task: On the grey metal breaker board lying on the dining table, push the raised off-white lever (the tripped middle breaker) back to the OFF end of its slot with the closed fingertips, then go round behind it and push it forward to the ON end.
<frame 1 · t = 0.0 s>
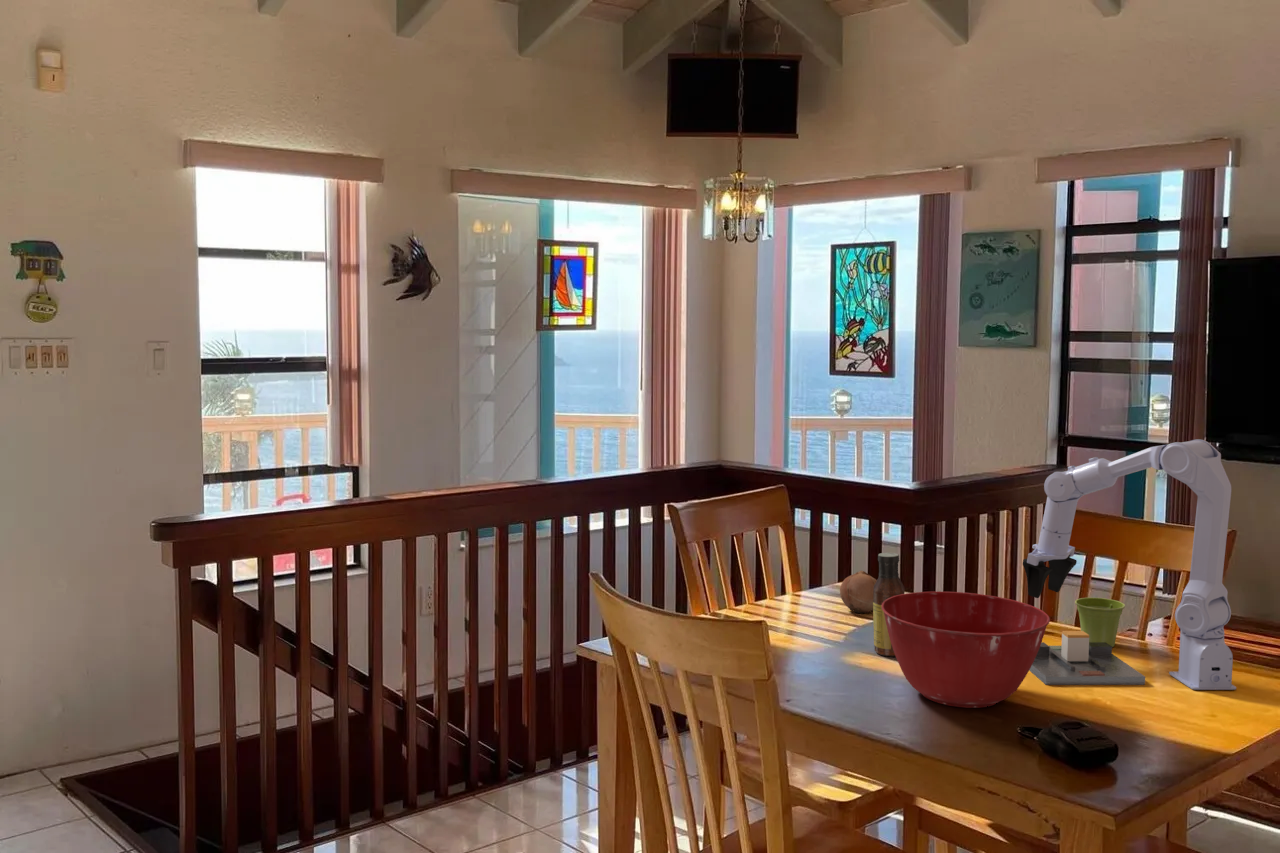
hand: (1043, 593, 236), 11 cm above the table, tool pointing down, fingers open, 7 cm apart
onion: (860, 612, 264), on the table
sauce bottle: (888, 654, 231), on the table
plant pot: (1098, 645, 237), on the table
mixing bowl: (961, 696, 205), on the table
lever: (1075, 646, 221), point 4 cm above the table, slide at 0.0 cm
panel: (1074, 668, 221), on the table
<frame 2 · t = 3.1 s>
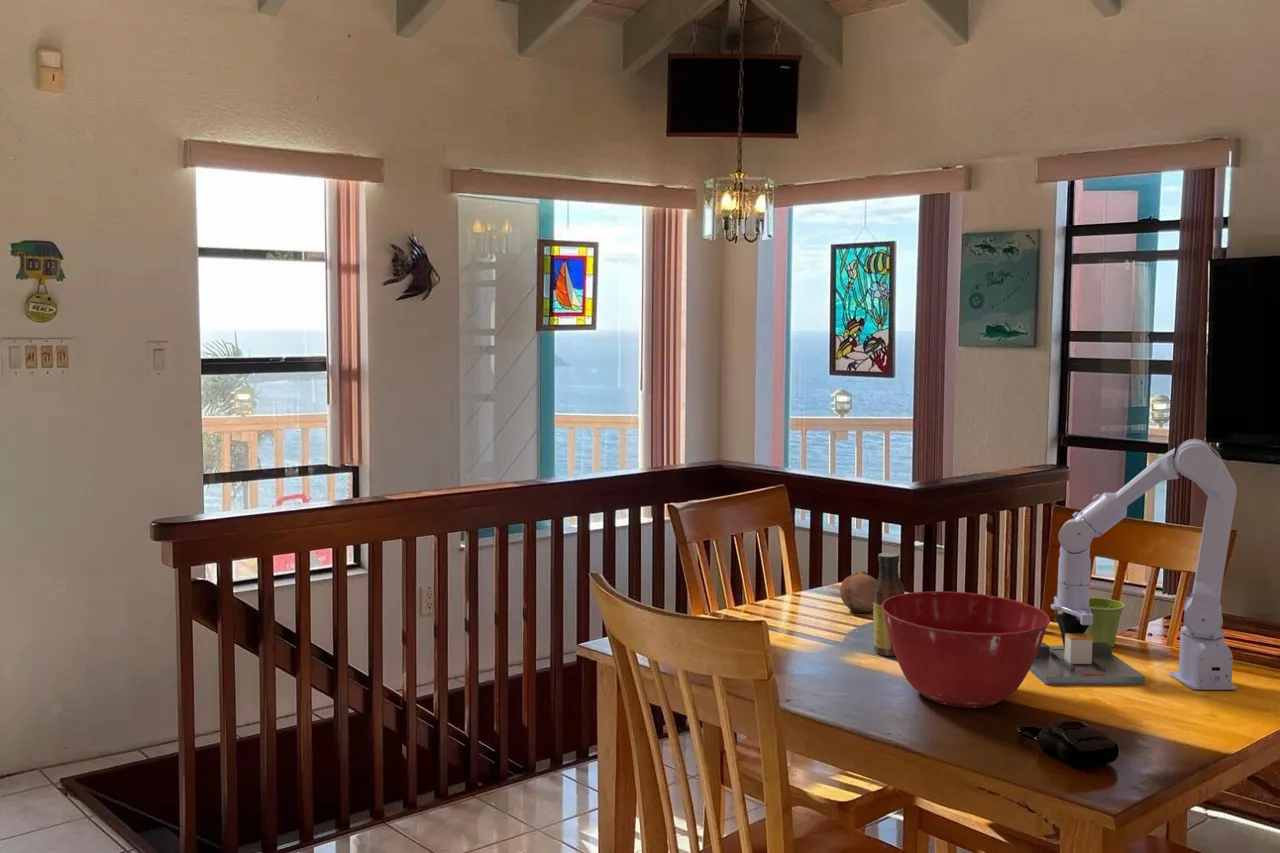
hand: (1071, 652, 223), 2 cm above the table, tool pointing down, fingers closed
lever: (1078, 648, 219), point 4 cm above the table, slide at -1.6 cm, touching gripper
everything else where it was.
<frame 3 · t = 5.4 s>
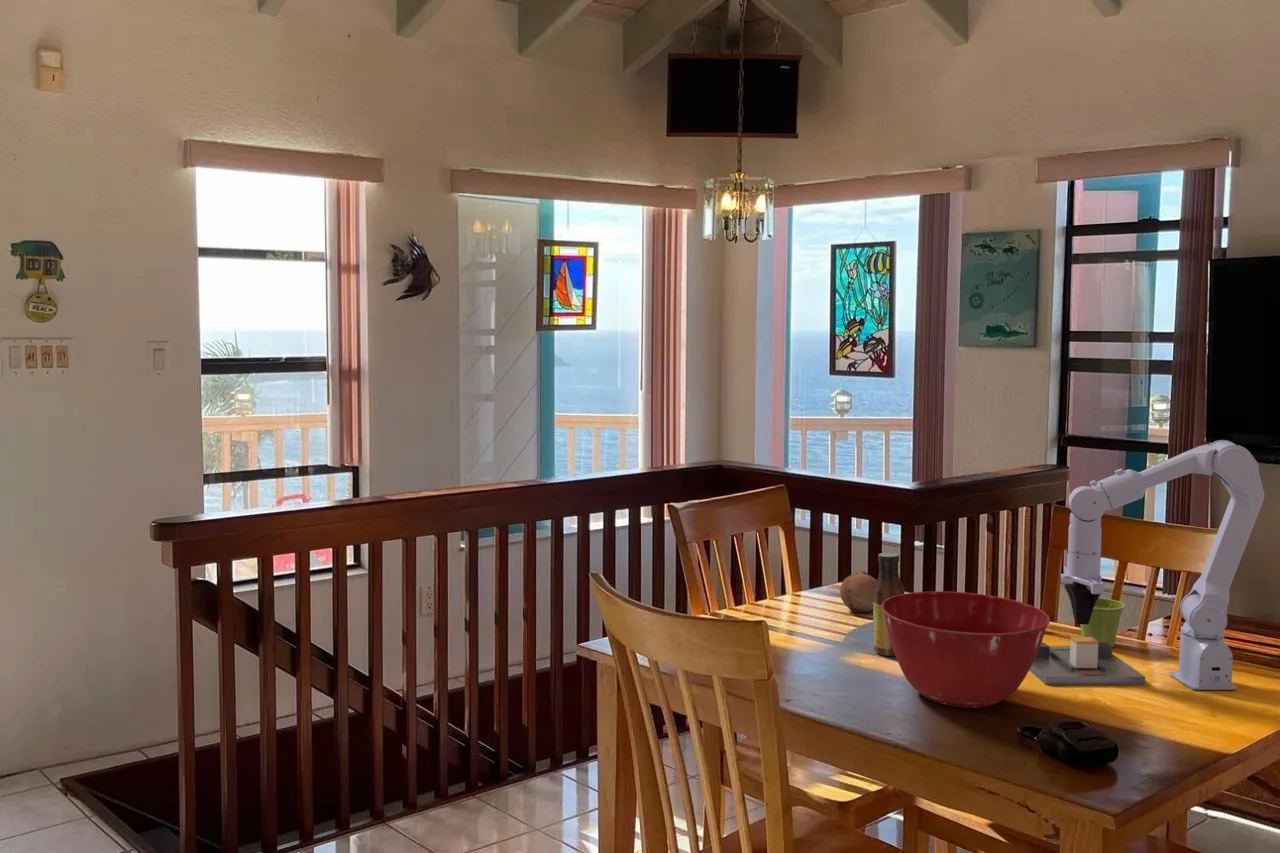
hand: (1081, 623, 218), 9 cm above the table, tool pointing down, fingers closed
lever: (1083, 652, 217), point 4 cm above the table, slide at -4.2 cm
everything else where it was.
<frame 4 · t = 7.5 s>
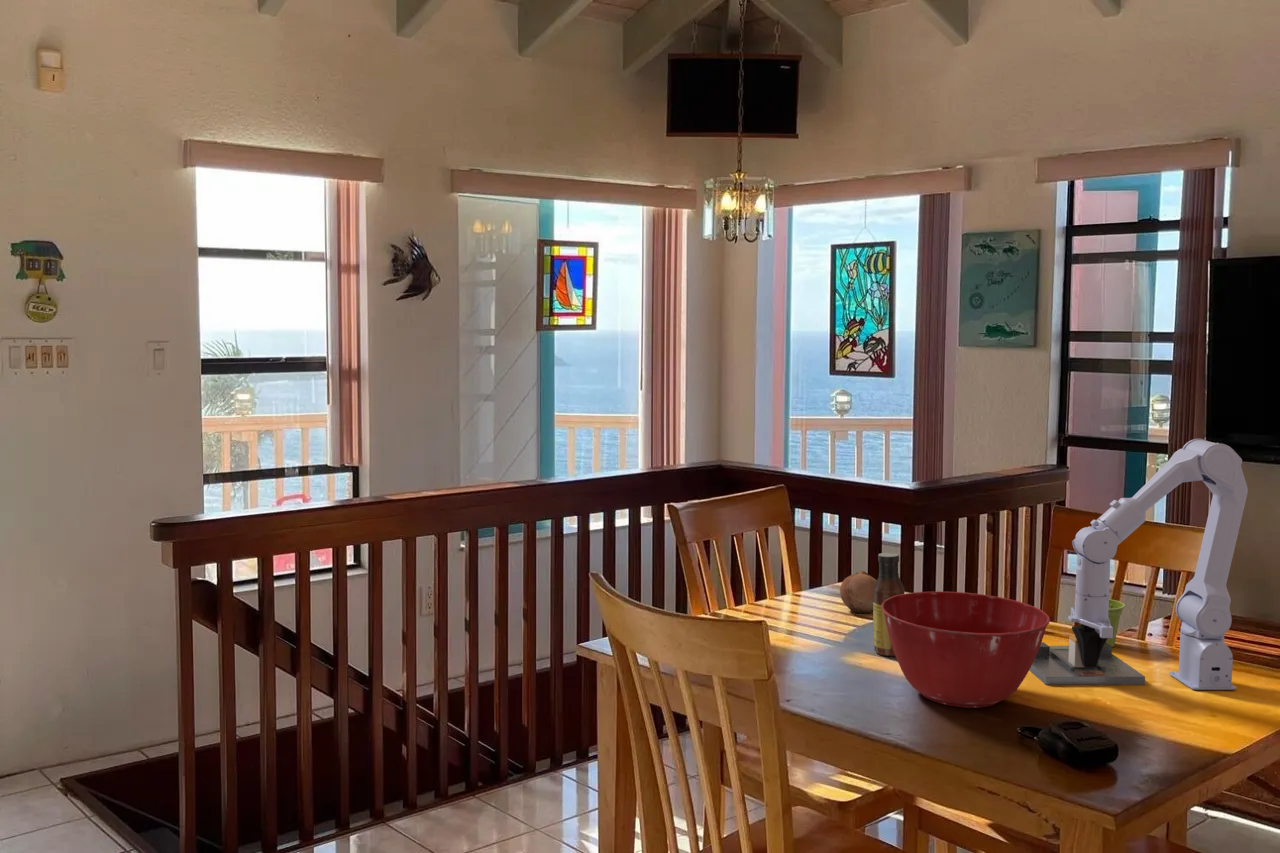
hand: (1089, 666, 214), 3 cm above the table, tool pointing down, fingers closed
lever: (1082, 651, 217), point 4 cm above the table, slide at -3.6 cm, touching gripper
everything else where it was.
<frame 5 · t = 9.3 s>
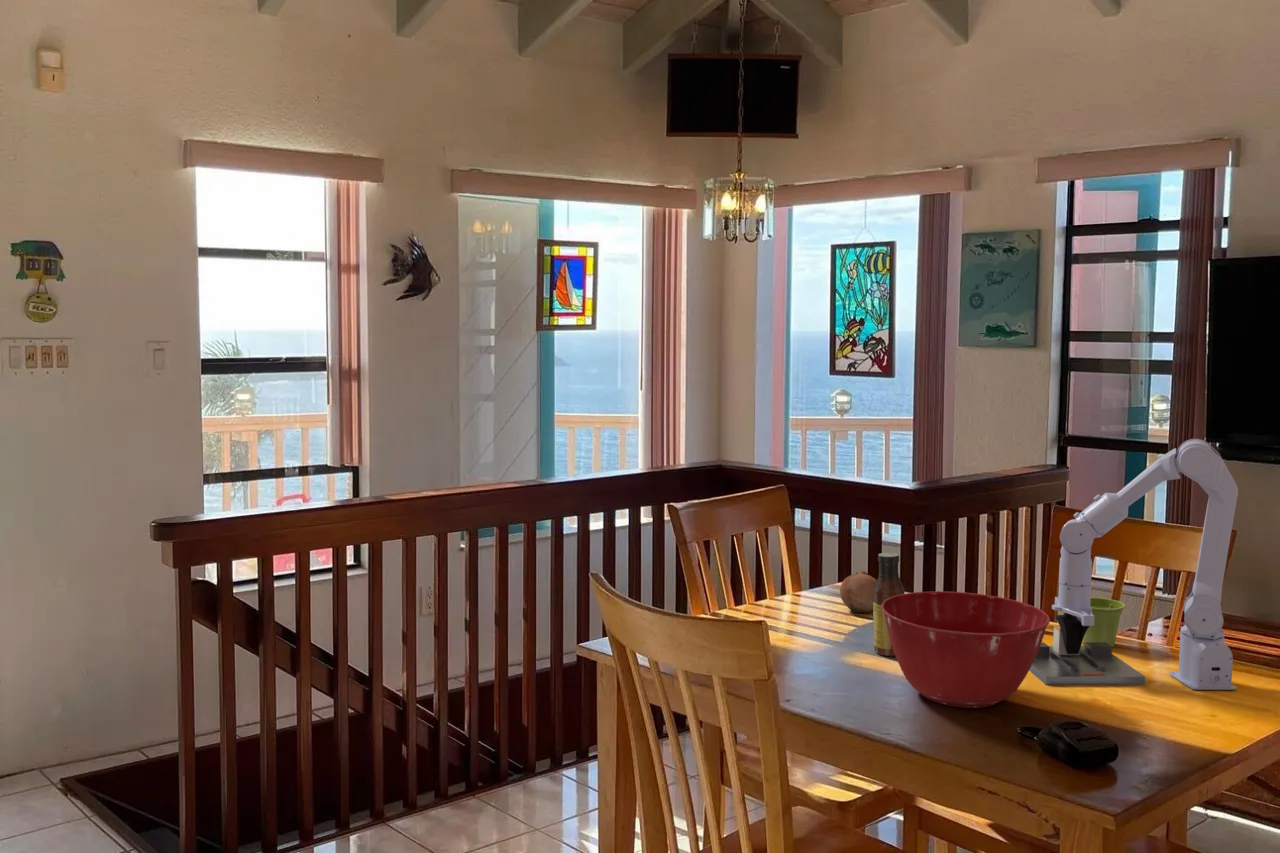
hand: (1072, 653, 222), 2 cm above the table, tool pointing down, fingers closed
lever: (1066, 639, 225), point 4 cm above the table, slide at 4.3 cm, touching gripper
everything else where it was.
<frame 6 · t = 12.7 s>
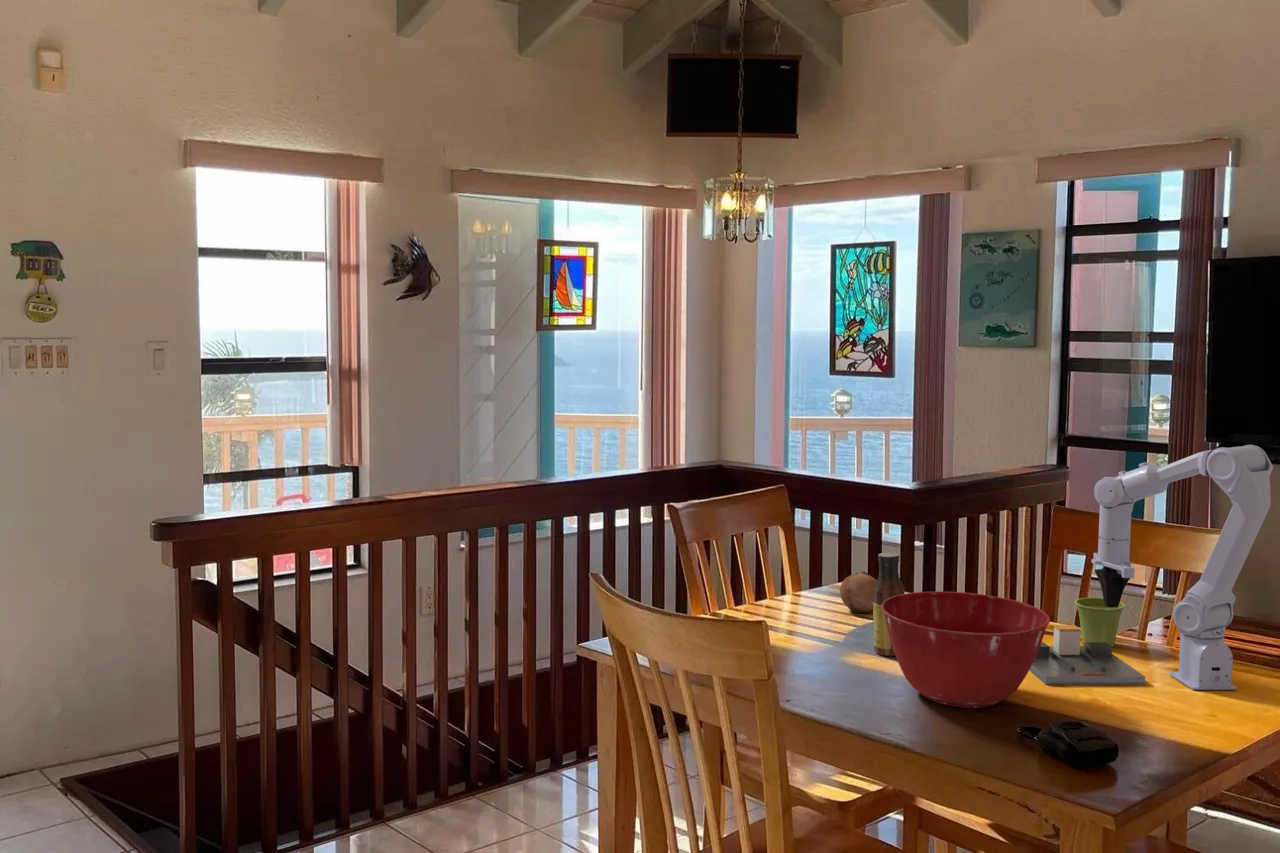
hand: (1111, 606, 228), 10 cm above the table, tool pointing down, fingers closed
lever: (1066, 639, 225), point 4 cm above the table, slide at 4.2 cm
everything else where it was.
at the end: lever slide at 4.2 cm; lever touching nothing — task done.
